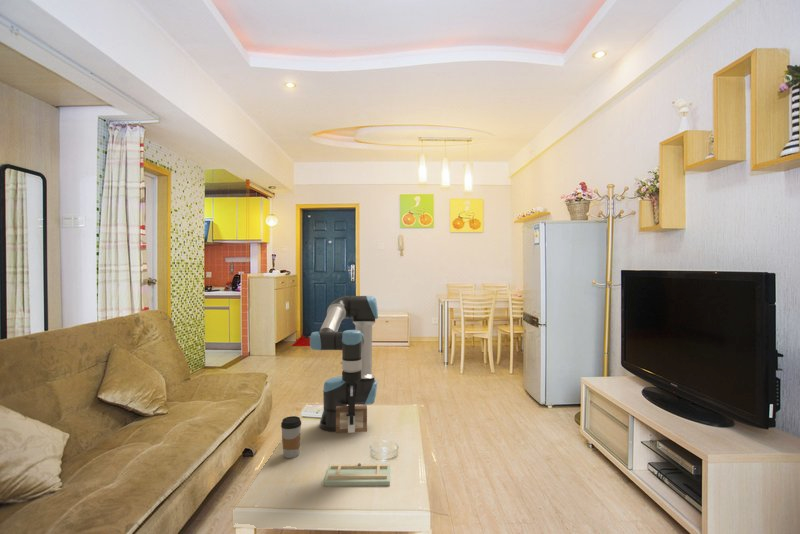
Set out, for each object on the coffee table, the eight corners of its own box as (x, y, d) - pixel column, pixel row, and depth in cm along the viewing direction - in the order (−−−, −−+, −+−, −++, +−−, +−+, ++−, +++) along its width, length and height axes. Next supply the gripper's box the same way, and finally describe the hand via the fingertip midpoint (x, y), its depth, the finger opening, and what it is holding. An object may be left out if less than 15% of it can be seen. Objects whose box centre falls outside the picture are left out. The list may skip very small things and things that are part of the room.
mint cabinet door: (329, 468, 153) (329, 461, 153) (390, 468, 154) (390, 460, 154) (324, 485, 141) (323, 477, 141) (389, 485, 142) (389, 477, 142)
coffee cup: (295, 460, 159) (295, 424, 159) (277, 458, 161) (277, 422, 161) (304, 451, 168) (304, 416, 167) (287, 449, 169) (286, 415, 169)
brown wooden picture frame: (336, 429, 154) (336, 406, 154) (366, 427, 155) (366, 404, 155) (335, 433, 150) (335, 409, 150) (367, 431, 151) (367, 408, 151)
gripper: (342, 365, 161) (342, 421, 161) (341, 376, 144) (341, 439, 144) (360, 364, 162) (360, 421, 161) (361, 375, 145) (361, 438, 144)
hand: (351, 429), depth 152 cm, fingers closed on brown wooden picture frame, 4 cm apart
